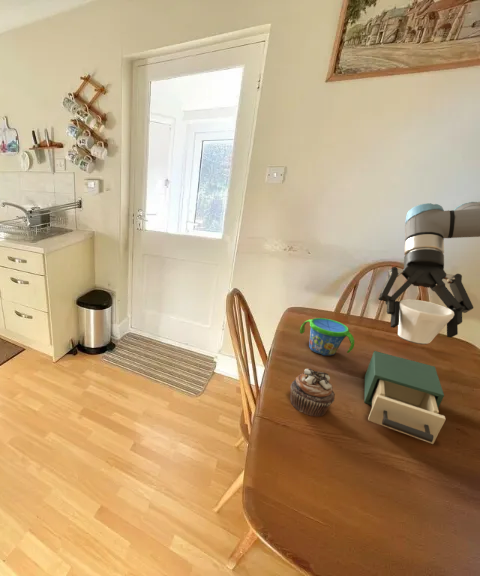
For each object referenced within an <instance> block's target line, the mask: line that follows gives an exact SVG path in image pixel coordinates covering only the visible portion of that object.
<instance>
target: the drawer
mask: <svg viewBox="0 0 480 576" xmlns="http://www.w3.org/2000/svg"><path fill="white" fill-rule="evenodd" d="M439 413H440V411H439V407H437V403H436V400H435V396H434V395H431V394H428V393H425V392H421V391H418V390H415V389H411V388H408V387H405V386H401V385H398V384H395V383H391V382H388V381H385V380H381V379H377V382H376V385H375V387H374V390H373V392H372V405H371V409H370V412H369V413H368V414H369V415H368V417H367V421H369V422H372V423H374V424H377V425H379V426H382V427H385V428H387V429H390V430H393V431H396V432H398V433H401V434H403V435H407V436H410V437H413V438H415V439H417V440H421V441H423V442H425V443H429V444H432V445H434V443H435V442H436V439H437V437H438V435H439V434H440V432H441V429H442V428H443V426H444V424H445V422H446V416H445V415H444V414H439Z"/></svg>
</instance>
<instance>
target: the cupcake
mask: <svg viewBox="0 0 480 576" xmlns="http://www.w3.org/2000/svg"><path fill="white" fill-rule="evenodd" d="M330 379H331V376H330V375H329V373H327V372H325V371H324V372H323V371H319V370H314V369H312V368H305V369H304V371H303V372H302V373H300V374H298V375H297V376H296V377H295V379H294V380H293V381H292V382H291V384H290V404H291V405H292V407H293V408H294V409H296V411H299V412H300V413H302V414H304V415H307V416H310V417H323V416H324V415H325V414H326V412H327V411H328V409H329V408H330V406H332V404H333V403H334V402H335V397H336V395H335V391H334V387H333V384H332V383H331V381H330Z"/></svg>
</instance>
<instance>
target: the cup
mask: <svg viewBox="0 0 480 576" xmlns="http://www.w3.org/2000/svg"><path fill="white" fill-rule="evenodd" d="M399 301H400V310H399V325H397V336H398V337H399V338H400V339H402V340H404V341H406V342H409V343H412V344H417V345H429V344H430V343H431V342H432V341H433V340H434V339H435V338H436V337H437V336H438V335H439V333H440V332H441V331H442V330H443V329H444V328H445V327H446V326H447V323H448V322H449V321H450V320H451V319H452V318H453V316H454V312H453V311H452V310H451V309H449V308H447V306H444V305H441V304H438V303H435V302H431V301H427V300H419V299H412V298H411V299H401V300H399Z"/></svg>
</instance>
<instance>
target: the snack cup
mask: <svg viewBox="0 0 480 576" xmlns="http://www.w3.org/2000/svg"><path fill="white" fill-rule="evenodd" d="M307 323H309V326H310V329H309V341H308V348H309V349H310V350H311V352H314V353H316V354H320V355H321V356H323V357H324V356H329V357H330V356H334V355H335V354H336V353H337V351H338V350H339V347H340V346H341V344H342V342H343V341H344V340H345V338H346V337H347V338H348V340H349V343H350V346H349V347H348V350H347V351H346V353H347V354H349V353H350V352H352V351H353V349H354V347H355V338H354V335H353V334H352V333H351V332H350V329H349V327H348V326H347V325H345V324H344V323H342V322H340V321H338V320H335V319H332V318H331V319H330V318H325V317H314V318H311V319H307V320H305V321H304V322H303V323H302V324H301V326H300V328H299V333H300V334H301V335H303V334H304V333H305V329H306V327H305V326H306V324H307Z"/></svg>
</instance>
